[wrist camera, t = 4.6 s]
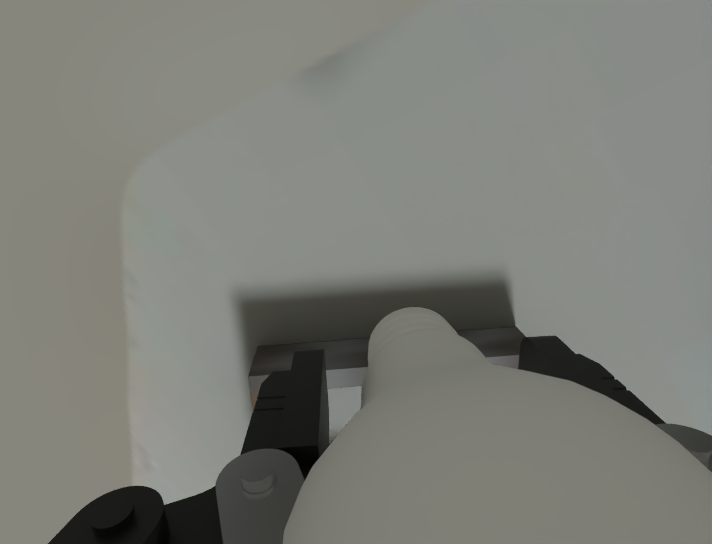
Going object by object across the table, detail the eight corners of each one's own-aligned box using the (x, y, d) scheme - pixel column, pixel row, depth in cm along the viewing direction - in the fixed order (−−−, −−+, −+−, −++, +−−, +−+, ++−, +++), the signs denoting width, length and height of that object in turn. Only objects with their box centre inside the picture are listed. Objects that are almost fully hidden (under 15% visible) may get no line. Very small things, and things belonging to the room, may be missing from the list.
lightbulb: (279, 266, 12) (1, 987, 2) (491, 211, 12) (1394, 697, 2) (335, 439, 14) (341, 1270, 4) (519, 395, 14) (1041, 1141, 4)
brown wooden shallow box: (516, 326, 24) (541, 353, 21) (506, 474, 27) (527, 514, 24) (257, 346, 23) (248, 376, 21) (277, 495, 27) (272, 539, 24)
